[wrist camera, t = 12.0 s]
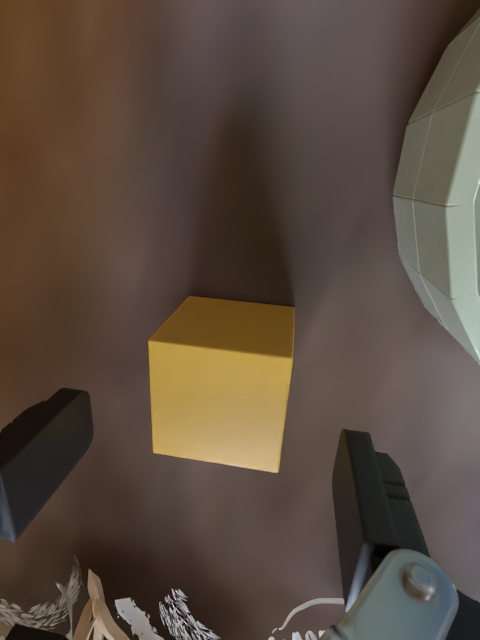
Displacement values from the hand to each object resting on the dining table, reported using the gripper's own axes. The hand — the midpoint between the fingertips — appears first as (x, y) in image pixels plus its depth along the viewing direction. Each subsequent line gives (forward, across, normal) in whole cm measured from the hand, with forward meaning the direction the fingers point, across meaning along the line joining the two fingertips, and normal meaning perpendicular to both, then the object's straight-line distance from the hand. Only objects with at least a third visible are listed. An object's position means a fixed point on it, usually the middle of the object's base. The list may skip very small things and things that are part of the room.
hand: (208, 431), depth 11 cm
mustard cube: (+6, 0, 0) cm, 6 cm away
